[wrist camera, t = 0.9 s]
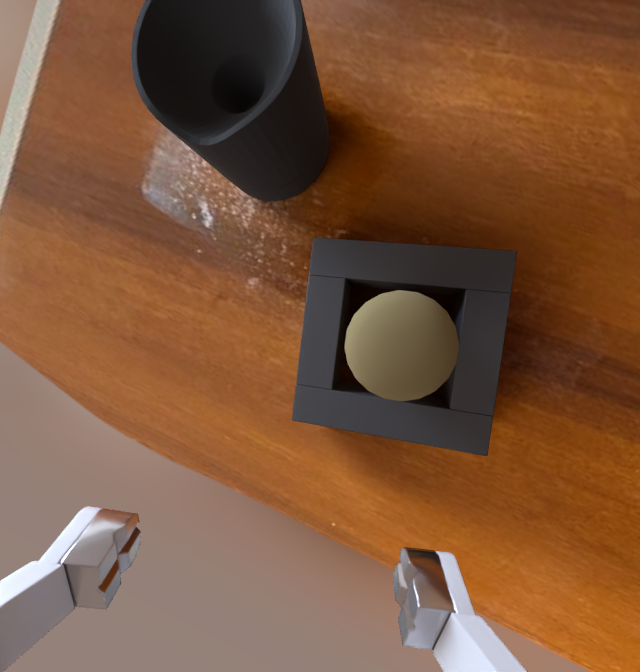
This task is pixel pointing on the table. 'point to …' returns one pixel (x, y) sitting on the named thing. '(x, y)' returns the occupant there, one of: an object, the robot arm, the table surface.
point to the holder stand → (417, 276)
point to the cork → (401, 345)
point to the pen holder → (236, 88)
